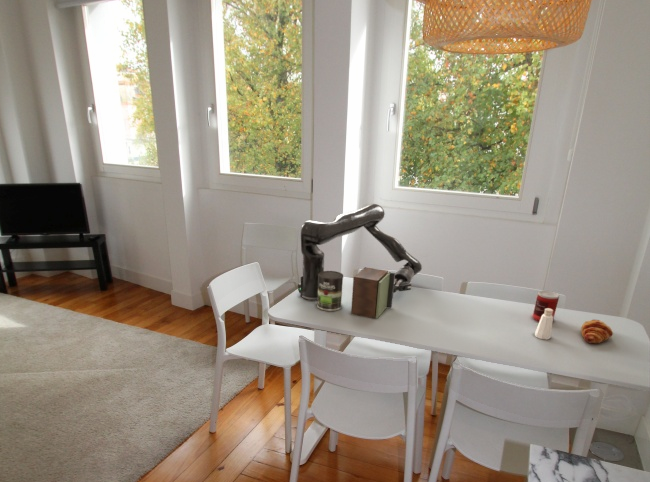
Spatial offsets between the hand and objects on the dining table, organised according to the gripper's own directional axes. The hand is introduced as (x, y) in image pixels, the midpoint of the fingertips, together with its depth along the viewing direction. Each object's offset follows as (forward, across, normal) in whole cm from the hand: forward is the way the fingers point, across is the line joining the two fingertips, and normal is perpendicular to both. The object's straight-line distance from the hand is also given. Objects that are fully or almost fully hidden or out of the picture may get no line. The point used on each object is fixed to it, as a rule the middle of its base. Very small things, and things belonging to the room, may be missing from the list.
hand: (391, 290), depth 196 cm
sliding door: (+9, 0, -6) cm, 11 cm away
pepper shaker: (+2, -59, -7) cm, 60 cm away
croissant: (-7, -77, -7) cm, 78 cm away
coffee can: (+12, +23, -7) cm, 27 cm away
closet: (+9, +7, -7) cm, 13 cm away
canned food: (-16, -59, -7) cm, 62 cm away
